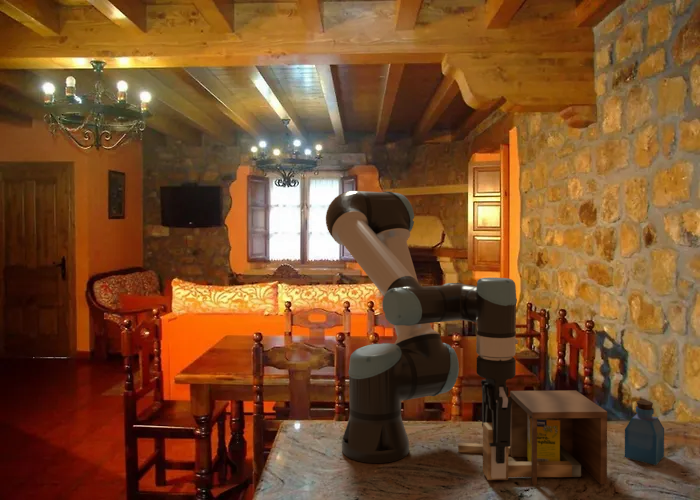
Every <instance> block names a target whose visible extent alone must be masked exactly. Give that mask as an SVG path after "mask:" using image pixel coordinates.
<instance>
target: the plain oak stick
mask: <svg viewBox="0 0 700 500" xmlns="http://www.w3.org/2000/svg"><path fill="white" fill-rule="evenodd" d="M457 447H458V448H457V449H458V450H457V451H458V453H472V454H483V443H474V442H473V443H470V442H458V443H457ZM508 456H511V455H510V447H508Z"/></svg>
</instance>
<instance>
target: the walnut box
mask: <svg viewBox="0 0 700 500" xmlns="http://www.w3.org/2000/svg"><path fill="white" fill-rule="evenodd" d="M509 397H511V398H512V405H511V425H510V455H509V456H511V457H512V458H527V414H528V415H529V416H530V417H531V418H532V477H531V484H532V486H535V485H536V486H537V485H538V477H537V418H559V420H560V445H561V446H562V447H563V448H564V449H565V450H566V451H567V452H568V453H569V454H570V455H571V456H573V457H574V458H575V459H576V460H577V461H578V462H579V463H580V464H581V467H582V468H583V469H584V470H586V471H587V472H588V473H589V474H590V476H592V477H593V478H594V479H595V480H596V481H597V483H598V484H600V485H608V481H607V480H608V411H607V410H605V409H604V408H603V407H601V406H600V405H598V404H597V403H595V402H594V401H592V400H591V399H589V398H588V397H586V396H585V395H583V394H582V393H580V391H578V390H576V389H575V390H569V389H568V390H510V391H509Z"/></svg>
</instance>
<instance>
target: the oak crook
mask: <svg viewBox="0 0 700 500" xmlns="http://www.w3.org/2000/svg"><path fill="white" fill-rule="evenodd" d="M489 443H493V429H492V423H483V427H482V444H483V453H482V472H483V474H484V476H485V478H486V479H487V481H508V480H509V478H532V462H528V461H509V455H508V447H506V479H492V478H491V447H490V445H489ZM581 476H582V465H581V464H580V463H579V462H578V461H577V460H576V459H575V458H574V457H573V456H571V455H570V454H569V453H568V452H567V451H566V450H565V449H564V448H563V447H562V446H561V445H560V461H537V478H581Z"/></svg>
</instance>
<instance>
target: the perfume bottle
mask: <svg viewBox="0 0 700 500" xmlns="http://www.w3.org/2000/svg"><path fill="white" fill-rule="evenodd" d="M653 403H654V402H652V401H649V400H643V399H641V400H640V399H639V400H637V401H636V406H635V412H636V414H635V415H634V416H632V417H631V419H630V420H629V422H628V423H627V425H626V426H625V428H624V458H625V457H626V458H625V459H629V458H630V460H634V461H638V462H641V463H646V464H650V465H654V466H657V465H658V463H660V462H661V460H662V459H664V457H665V428H664V426H663V424H662V422H661V421H660V419H659V418H658V417H657V416H653V415H654V414H655V412H654V411H655V410H654V408H653V405H654V404H653Z"/></svg>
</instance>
